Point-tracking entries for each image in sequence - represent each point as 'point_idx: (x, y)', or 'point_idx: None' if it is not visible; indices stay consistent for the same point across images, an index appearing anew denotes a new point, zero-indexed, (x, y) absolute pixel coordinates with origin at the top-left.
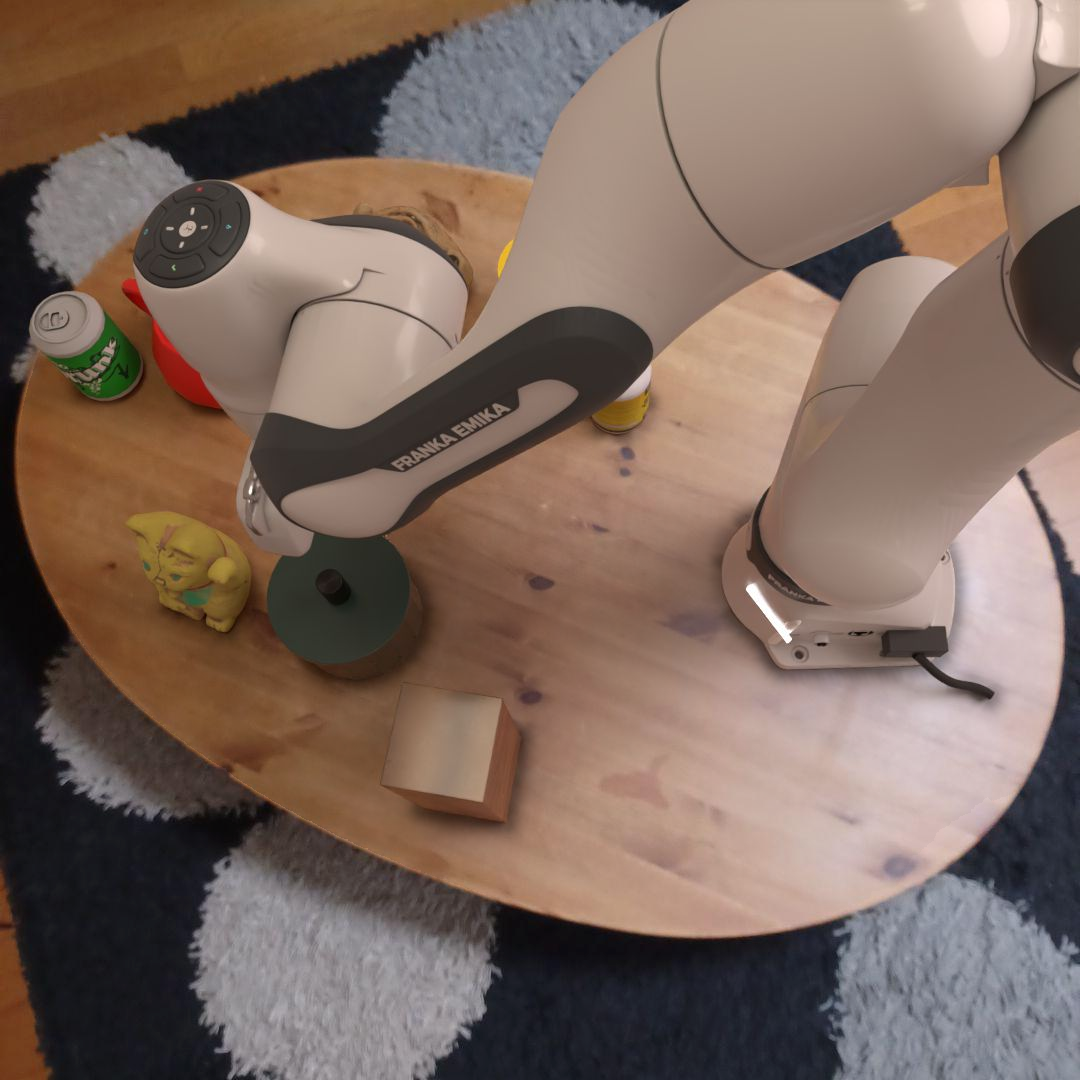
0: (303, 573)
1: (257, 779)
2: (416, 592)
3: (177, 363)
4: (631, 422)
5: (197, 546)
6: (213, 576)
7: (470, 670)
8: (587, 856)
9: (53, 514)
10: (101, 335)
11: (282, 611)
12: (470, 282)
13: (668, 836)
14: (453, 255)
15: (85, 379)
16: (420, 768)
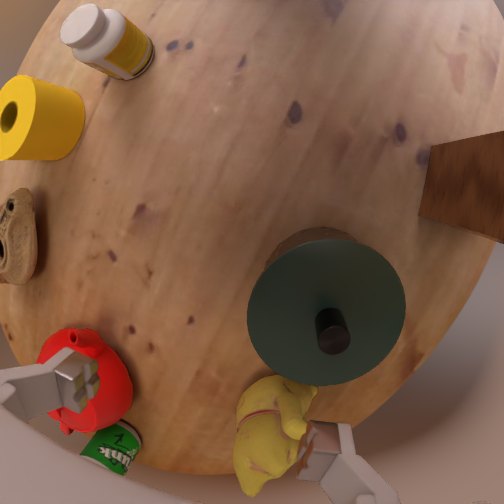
0: (301, 355)
1: (428, 355)
2: (307, 232)
3: (104, 423)
4: (146, 37)
5: (277, 456)
6: None
7: (376, 184)
8: (498, 115)
9: (218, 467)
10: (98, 460)
11: (340, 372)
12: (26, 189)
13: (481, 60)
14: (6, 203)
15: (129, 460)
16: None
